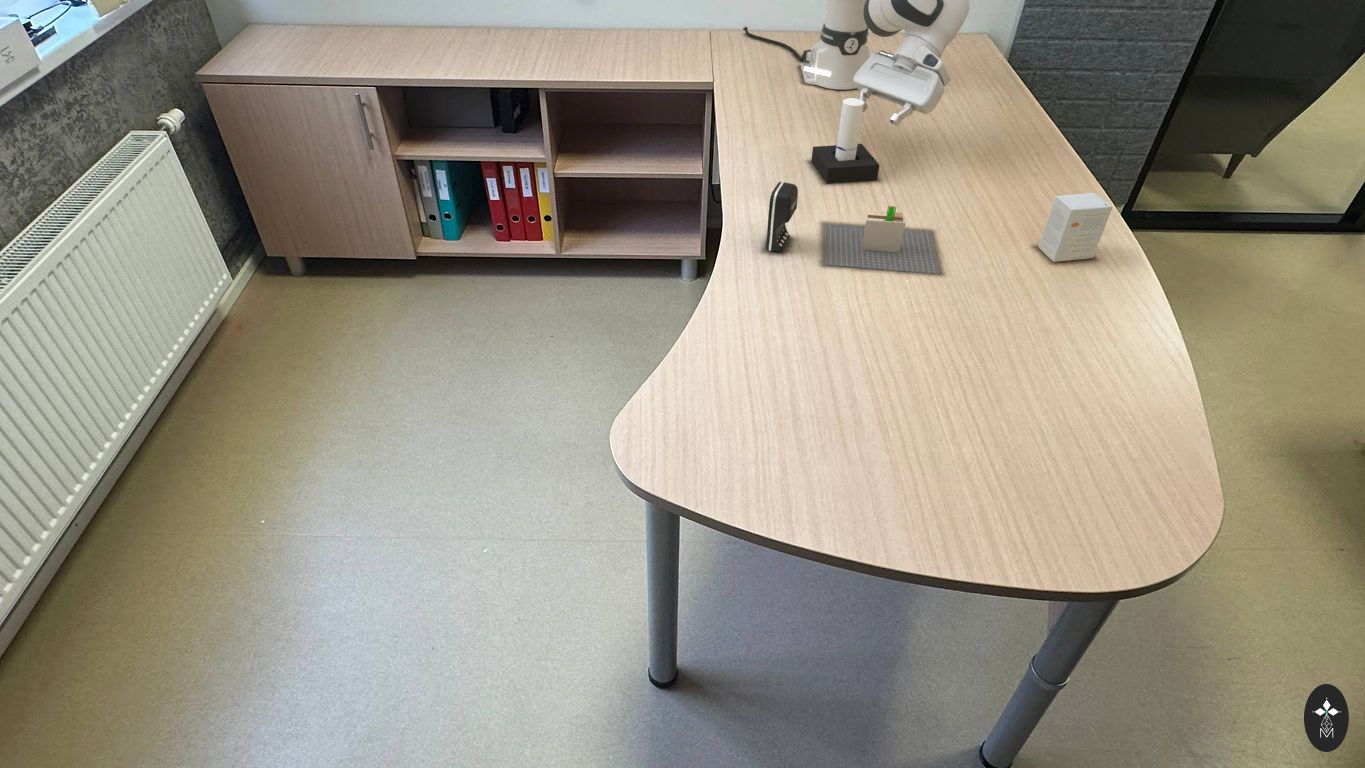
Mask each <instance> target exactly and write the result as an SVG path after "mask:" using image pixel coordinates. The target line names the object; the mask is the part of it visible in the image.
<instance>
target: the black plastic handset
mask: <svg viewBox="0 0 1365 768" xmlns="http://www.w3.org/2000/svg"><path fill="white" fill-rule="evenodd" d="M798 198H799V189H798V186H797V185H796V184H794V183H790V182H785V181H778V182H777V184H776V185H775V187H774V188H773V190H772V191H771V195H770V197H769V206H768V217H767V228H766V229H767V230H766V239H765V240H766V241H765V250H768V251H769V252H783V250H785V247H786V246H787V244H788V243H789V241H790V238H791V235H790V234H789V232H788V229H787V225H786V224H787V223H789V222H790V221H791V219H792V217H793V215H794V214H795V212H796V210H797V209H798Z"/></svg>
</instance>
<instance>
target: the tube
mask: <svg viewBox="0 0 1365 768" xmlns="http://www.w3.org/2000/svg"><path fill="white" fill-rule="evenodd" d="M841 103H842V105H841V111H840V119H839V125H838V133H837V139H836V140H837V141H836V145H837V147H836V154H835V157H836V158H837V160H838V161H846V160H855V157H856V151H857V144H859V138H860V132H861V131H860V130H861V125H862V119H863V113H864V112H863V106H864V102H863V101H862V100H860V98H856V97H849V98H845V99H843V100H842V102H841Z"/></svg>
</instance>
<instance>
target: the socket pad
mask: <svg viewBox="0 0 1365 768" xmlns="http://www.w3.org/2000/svg"><path fill="white" fill-rule="evenodd" d="M836 147H837V144H835V145H833V144H832V145H819V146H812V153H811V160H810V161H811V162H810V163H812V165H813V166H814V168H815V170H816V171H817V172H818V174H819V175H820V176H821V178H822V179H823V181H824V182H825V184H840V183H841V184H843V183H855V182H870V181H871V182H872V181H878V177H879V171H880V164H879V162H878V161H877V160H876V158H875V157H874V156H873V155H872V154H871V153H870V152H869V150H868V149H867V148H866V147H865V146H864V144H863V143H858V144H857V151H856V157H855V160H846V161H838V160H837V158H836V157H835V154H836Z"/></svg>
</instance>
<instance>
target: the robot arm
mask: <svg viewBox="0 0 1365 768" xmlns="http://www.w3.org/2000/svg"><path fill="white" fill-rule="evenodd" d="M969 11H970V0H826V6H825V19H824V23H823V25H822V29H821V31H820V36H819V38H820V39H819V40H818V41H817V42H815V44H813V46H811V48H810V49H804V50H803V53H802V54H801V57H800V55H799V53H798V52H797V51H796V49H794V48H792V47H791V46H790V45H788V44H786V43H783V42H781V41H779V40H774V39H770V38H766V37H764V36H763V37H762V36H760V35H759V36H758V35H757V34H756V35H755V34H753V33H751V32H749V29H748V26H747V27H745V26H744V27H745V28H744V27H743V28H742V30H743V31H744V32H745V34H746V35H747V36H748V37H750V38H752V39H756V40H759V41H763V42H766V43H771V44H775V45H778V46H781V47H783V48H785V49H787V50H788V51H790V52H791V53H793V55H794V56H795V58H796V59H797V60H798V61H800V62H801V63H800V69H801V73H802V77H803V81H804V83H805V84H807V85H812V86H817V87H821V88H825V89H831V90H843V91H844V90H854V89H857V90H858V91H860V93H859V99H860V100H862V101H863V102H864V106H863V112H862V113H865V112H866V110H867V108H868V107H869V106H868V105H867V99H870V97H871V96H874V97H877V98H879V99H882V100H885V101H888V102H890V103H893V104H895V105H899V106H901V107H903V109H902V110H900V111H899V112H898V113H895V112H894V113H893V114H892V116H891V117H890V119H889V122H890V123H891V124H892V125H894V126H897V127H898V126H899V125H900V124H901V122H902V121H903V120H905V119H906V118H909V117H910V116H911V115H913V113H914V111H916V112H918V113H921V114H923V115H928V114H930V113H932V112H933V111H934V110H935V109H936V107H937V105H938V104H939V102H940V100H941V99H942V97H943V96H944V93H945V87H946V86H947V85H948V84H949V83H950V82H951V80H952V79H951V76H950V73H949V71H948V68H947V67H946V65H945V63H944V62H943V60H942V59H941V58H942V55H943V53H944V51H945V50H946V48H947V47H948V46H950V44H951V43H953V41H954V39H955V38H956V36H957V35H958V33H959V31H960V29H961V28H962V26H963V24H964V22H965V21H966V19H967V17H968V14H969ZM902 30H903V31H904V32H905V36H904V38H903V39H902V41H901V42H900V44H899V45H898V47H897V48H896V49H895V51H894V52H893V53H891V52H886V51H885V50H879V51H875V52H873V53H871V49H870V48H869V47H868V46H867V43H868V37H869V31H870V32H872V34H874V35H876V36H878V37H882V38H888V37H893V36H895V35H897V34H898V33H900V32H901V31H902Z"/></svg>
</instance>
